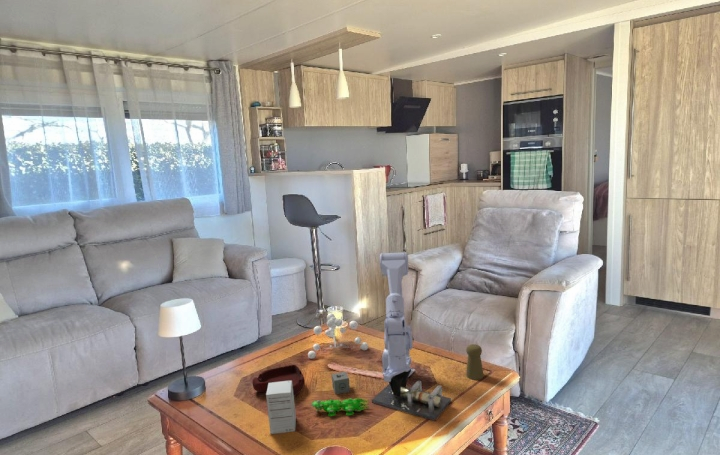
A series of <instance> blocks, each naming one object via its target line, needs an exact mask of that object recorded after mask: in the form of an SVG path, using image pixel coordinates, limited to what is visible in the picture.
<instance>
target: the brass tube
mask: <svg viewBox="0 0 720 455" xmlns="http://www.w3.org/2000/svg"><path fill="white" fill-rule="evenodd" d="M409 388H410V387H409ZM409 388H405V387H402V386H401V393H400V396H401V397H404V398H408V393H407V391H408V390H409ZM391 392H392V390H391ZM424 392H425V391H424ZM424 392H420V391H416V390H415V391H414V392H413V400H415V401H418V402H422V403H425V404H428V396H429V395H430V394H427V393H424ZM392 394H393V392H392ZM440 405H441V397H438V396H435V397H434V406H436V407H440Z"/></svg>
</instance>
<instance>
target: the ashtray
mask: <svg viewBox="0 0 720 455" xmlns="http://www.w3.org/2000/svg"><path fill="white" fill-rule="evenodd" d="M281 381H292V385H293V394H294V397H295V396H297V395H298V394H299V393H300V392H302V390H303V388H304V387H305V383H306V382H305V377H304V374H303V373H302V370H301V369H300V368H299V366H297V365H296V364H291V365H285V366H280V367H275V368H270V369H265V370H263V371H262V372H261V373H259V375H258V376H256V377H254V378H253V379H252V388H253V389H254V390H255V391H256V392H257V393H259V392H261V393H260V394H264V393H267V388H268V383H272V382H281Z"/></svg>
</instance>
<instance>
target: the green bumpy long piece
mask: <svg viewBox="0 0 720 455" xmlns="http://www.w3.org/2000/svg"><path fill="white" fill-rule="evenodd" d="M368 402H369V400H368V399H366V398H364V399H363V398H360V397H356V398H354V399H353V398H352V397H350V398H347V399H346V398H344V399H343V400H341V399H339V398H337V399H335V400H334V399H331V398H329V400H328V399H326V400H320V399H318V400H314V401H313V402H312V403H311V406H312V407H314V409H316V411H315V412H316V413H317V412H319V411H321V410H323V411H324V412H326V413H328V414H327V416H328V417H333V416H336V415H337V413H339V412H340V411H344V412H346V413H345V415H346V416H351V415H354V414H355V413H354V411H355V412H361V411H363V410H366V409H369V406H368V405H369V403H368ZM336 412H337V413H336Z"/></svg>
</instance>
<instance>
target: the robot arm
mask: <svg viewBox="0 0 720 455" xmlns="http://www.w3.org/2000/svg"><path fill="white" fill-rule="evenodd" d="M379 266H380V267H379V268H380V271H381V272H380V273H382V276H384V277H387V281H388V289H389V290H388V291H389V294H388V295H387V297H386V298H385V310H386V311H385V319H384V336H383V337H384V339H383V340H384V349H383V351H382V352H383V353H382V358H381V359H382V374H384V375H383V381H384V382H387V383H388V385H389V384H390V386H391V389H392V392H393V395H395V396H398V397H399V396H400V393H401V386H402V387H405V388H406V387H407V384H408V379H409V377H410V376H412V375H413V373H414V372H416V369H414V368H411V364H412V357H410V350H412V349H413V333H412V332H413V331H412V328H411V326H410V325H408V324H407V321H406V315H405V306H404V305H405V304H404V303H405V301H404V299H405V298H404V296H403V287H402V284H403V283H402V281H403V278H404V277H405V276H407V275H408V272H409V254H408V252H407V251H404V252H402V251H401V252H381V253H380V254H379ZM382 374H381V375H382Z"/></svg>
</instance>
